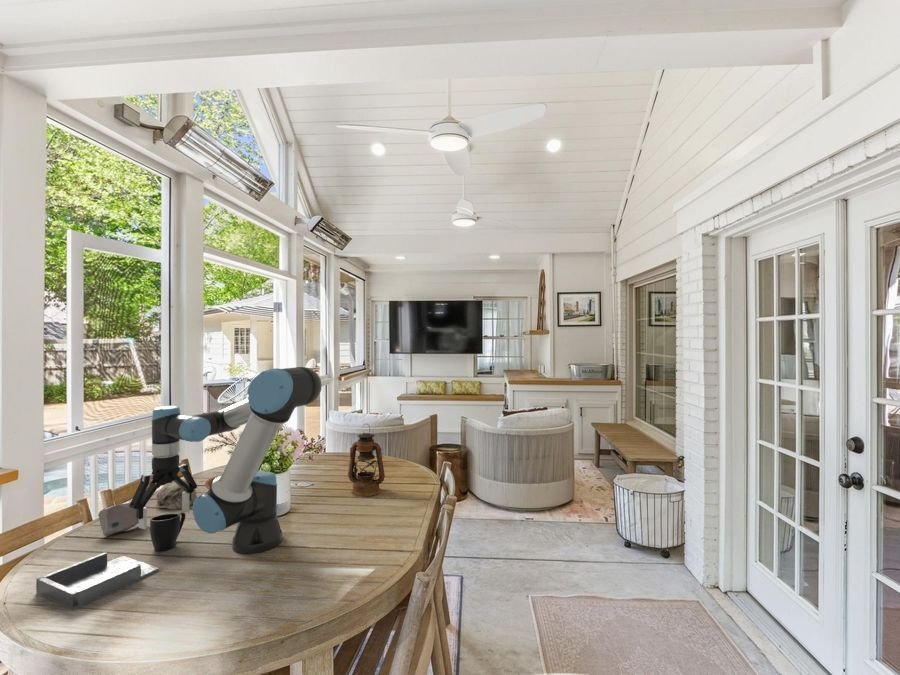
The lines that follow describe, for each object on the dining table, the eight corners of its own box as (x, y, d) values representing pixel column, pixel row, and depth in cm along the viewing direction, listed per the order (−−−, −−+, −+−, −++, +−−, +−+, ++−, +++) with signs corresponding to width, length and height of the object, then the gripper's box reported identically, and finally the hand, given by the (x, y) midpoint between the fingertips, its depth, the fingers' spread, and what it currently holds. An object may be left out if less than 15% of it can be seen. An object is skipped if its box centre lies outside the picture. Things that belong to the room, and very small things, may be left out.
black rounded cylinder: (194, 539, 150) (195, 510, 151) (164, 553, 138) (165, 521, 139) (173, 538, 152) (174, 509, 153) (142, 551, 140) (143, 520, 141)
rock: (201, 498, 189) (201, 474, 189) (194, 508, 178) (194, 483, 178) (160, 502, 185) (160, 477, 185) (150, 512, 173) (151, 487, 173)
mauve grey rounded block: (101, 538, 153) (103, 537, 149) (97, 510, 154) (99, 508, 150) (147, 524, 162) (150, 522, 158) (143, 497, 164) (146, 495, 160)
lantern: (389, 488, 201) (389, 421, 201) (379, 498, 189) (379, 426, 189) (353, 485, 204) (353, 420, 204) (341, 495, 192) (341, 425, 192)
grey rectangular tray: (159, 571, 129) (159, 556, 129) (72, 611, 110) (72, 594, 110) (123, 559, 136) (123, 545, 136) (36, 594, 117) (36, 578, 117)
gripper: (194, 444, 157) (194, 503, 157) (115, 463, 134) (115, 532, 135) (209, 447, 154) (208, 507, 154) (131, 467, 131) (130, 538, 132)
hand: (165, 520), depth 144 cm, fingers open, 13 cm apart
